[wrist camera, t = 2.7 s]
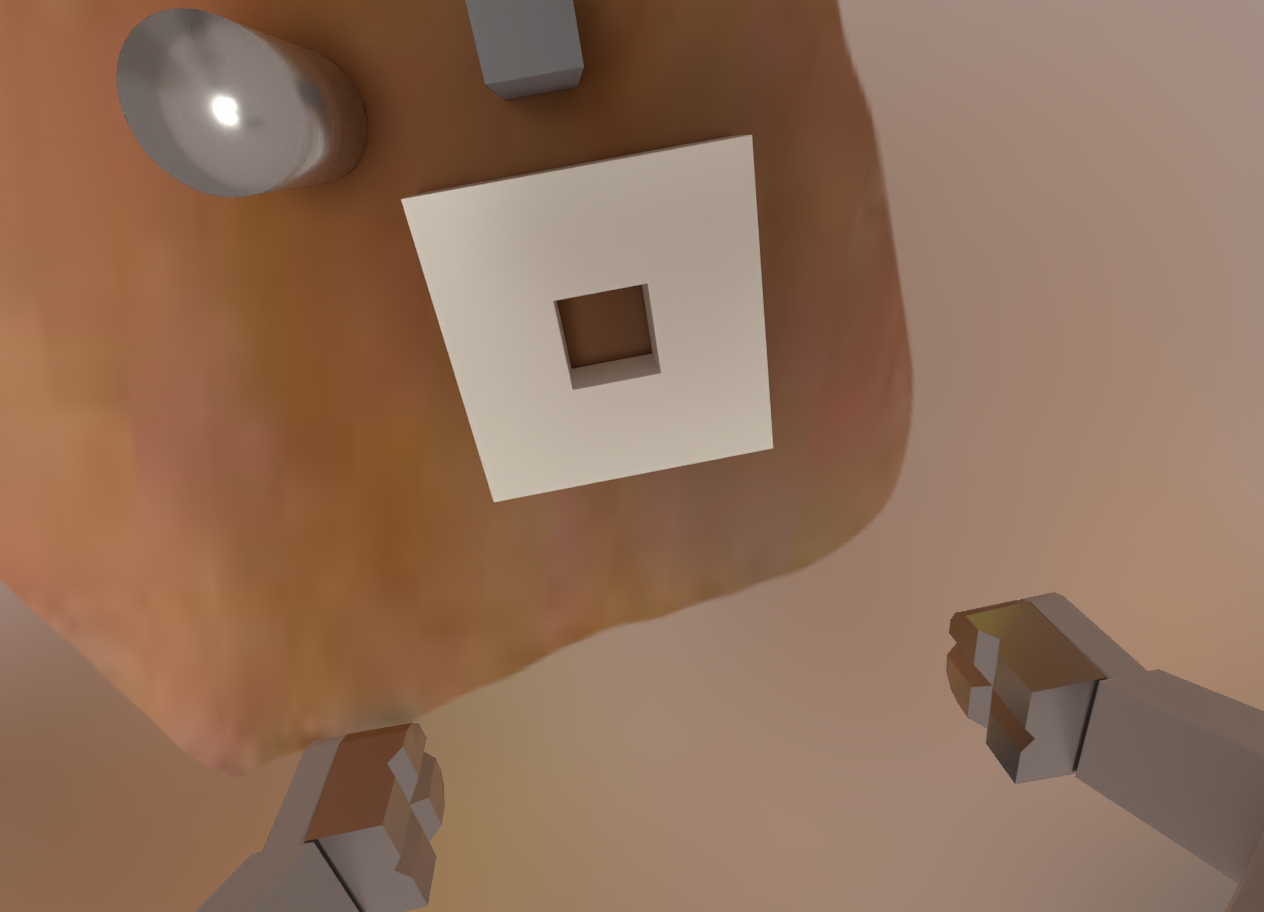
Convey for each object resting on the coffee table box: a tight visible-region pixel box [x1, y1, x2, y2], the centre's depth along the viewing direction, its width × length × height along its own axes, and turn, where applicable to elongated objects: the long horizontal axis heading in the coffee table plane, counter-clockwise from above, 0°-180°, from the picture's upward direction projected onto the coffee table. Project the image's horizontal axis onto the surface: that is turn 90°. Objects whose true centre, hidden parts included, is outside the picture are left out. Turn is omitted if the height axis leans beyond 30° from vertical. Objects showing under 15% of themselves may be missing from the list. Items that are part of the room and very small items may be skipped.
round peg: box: [117, 8, 368, 197], centre depth 25 cm, size 6×6×9 cm
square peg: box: [465, 0, 584, 100], centre depth 25 cm, size 4×4×9 cm
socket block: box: [401, 135, 773, 502], centre depth 34 cm, size 16×16×4 cm
